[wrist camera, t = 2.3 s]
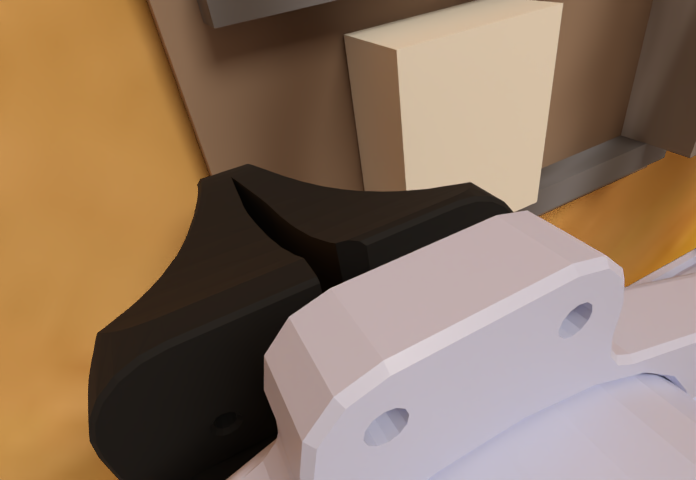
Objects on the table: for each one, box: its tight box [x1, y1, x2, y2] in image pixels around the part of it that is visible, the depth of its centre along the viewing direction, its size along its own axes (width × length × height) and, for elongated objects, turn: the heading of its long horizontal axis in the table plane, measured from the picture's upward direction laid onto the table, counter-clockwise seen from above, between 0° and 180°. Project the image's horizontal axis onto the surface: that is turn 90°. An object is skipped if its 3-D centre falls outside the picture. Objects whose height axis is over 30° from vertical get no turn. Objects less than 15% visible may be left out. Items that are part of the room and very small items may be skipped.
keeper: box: [344, 0, 563, 212], centre depth 13 cm, size 5×6×3 cm
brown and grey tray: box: [147, 0, 696, 216], centre depth 15 cm, size 20×13×4 cm, turn 100°
